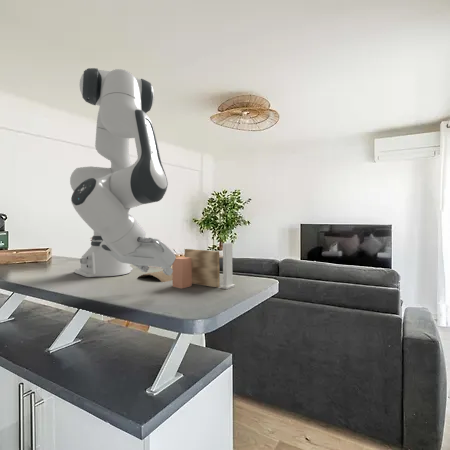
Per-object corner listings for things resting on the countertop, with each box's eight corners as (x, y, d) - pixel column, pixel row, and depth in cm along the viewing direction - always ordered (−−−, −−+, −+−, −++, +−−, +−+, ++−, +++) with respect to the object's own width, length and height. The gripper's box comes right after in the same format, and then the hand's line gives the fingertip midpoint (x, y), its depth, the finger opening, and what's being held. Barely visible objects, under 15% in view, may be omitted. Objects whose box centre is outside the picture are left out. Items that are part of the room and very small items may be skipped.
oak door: (182, 282, 97) (182, 249, 97) (187, 281, 99) (186, 248, 99) (215, 288, 89) (214, 251, 89) (219, 286, 91) (219, 251, 91)
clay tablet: (186, 279, 107) (186, 271, 107) (164, 284, 99) (164, 276, 98) (157, 275, 115) (157, 267, 115) (135, 279, 107) (135, 271, 107)
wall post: (220, 288, 90) (220, 243, 90) (228, 285, 94) (228, 242, 93) (227, 289, 89) (226, 243, 89) (235, 286, 92) (234, 242, 92)
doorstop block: (172, 286, 93) (172, 258, 93) (182, 284, 96) (181, 256, 96) (182, 288, 90) (181, 259, 90) (191, 285, 94) (191, 257, 93)
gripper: (162, 228, 73) (191, 265, 81) (110, 228, 85) (140, 260, 93) (147, 249, 69) (179, 285, 77) (95, 245, 81) (127, 277, 89)
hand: (157, 271), depth 85 cm, fingers open, 8 cm apart
